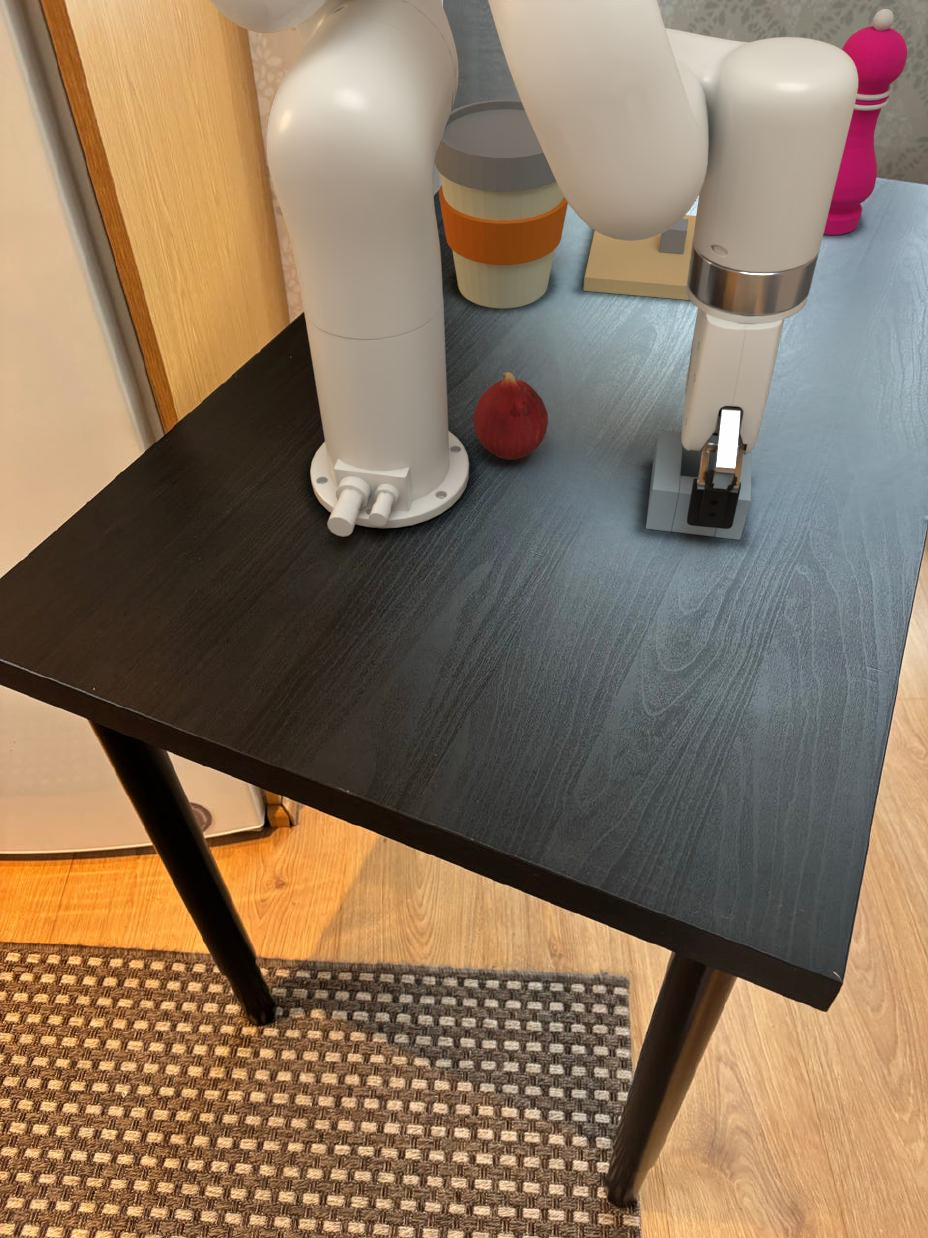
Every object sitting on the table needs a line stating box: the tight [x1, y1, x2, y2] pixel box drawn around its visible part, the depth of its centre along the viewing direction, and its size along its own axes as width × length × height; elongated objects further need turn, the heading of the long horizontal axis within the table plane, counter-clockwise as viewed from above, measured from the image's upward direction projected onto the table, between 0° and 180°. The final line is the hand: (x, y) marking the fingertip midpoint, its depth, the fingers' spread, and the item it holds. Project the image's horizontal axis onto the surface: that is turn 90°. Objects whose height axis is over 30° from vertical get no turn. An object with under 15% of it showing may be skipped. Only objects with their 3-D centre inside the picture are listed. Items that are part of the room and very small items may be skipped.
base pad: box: [582, 214, 696, 301], centre depth 97 cm, size 14×16×4 cm
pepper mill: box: [823, 8, 908, 236], centre depth 95 cm, size 7×7×20 cm
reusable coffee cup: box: [434, 99, 569, 309], centre depth 90 cm, size 13×13×15 cm
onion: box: [472, 371, 549, 461], centre depth 76 cm, size 6×6×8 cm
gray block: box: [645, 429, 752, 541], centre depth 73 cm, size 7×7×4 cm
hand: (711, 480), depth 73 cm, fingers open, 9 cm apart
